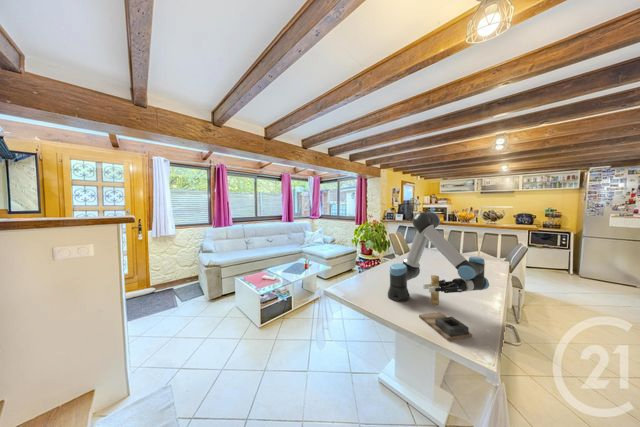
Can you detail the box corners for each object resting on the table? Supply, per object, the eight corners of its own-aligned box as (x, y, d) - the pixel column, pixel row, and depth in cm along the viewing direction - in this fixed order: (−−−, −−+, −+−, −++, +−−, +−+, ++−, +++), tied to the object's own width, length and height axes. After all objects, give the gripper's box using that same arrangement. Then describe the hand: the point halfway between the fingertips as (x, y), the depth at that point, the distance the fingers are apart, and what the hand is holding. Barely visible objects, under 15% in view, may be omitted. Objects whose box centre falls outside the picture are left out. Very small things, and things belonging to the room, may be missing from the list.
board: (419, 317, 124) (419, 309, 124) (440, 314, 126) (440, 306, 126) (447, 340, 102) (447, 330, 102) (472, 337, 105) (472, 327, 105)
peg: (429, 302, 122) (429, 275, 121) (435, 301, 123) (435, 274, 122) (434, 305, 118) (434, 277, 118) (440, 304, 119) (440, 277, 118)
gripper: (474, 297, 115) (437, 301, 111) (450, 285, 132) (417, 288, 128) (475, 283, 115) (437, 287, 111) (450, 273, 131) (417, 276, 127)
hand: (426, 288), depth 119 cm, fingers closed on peg, 4 cm apart
